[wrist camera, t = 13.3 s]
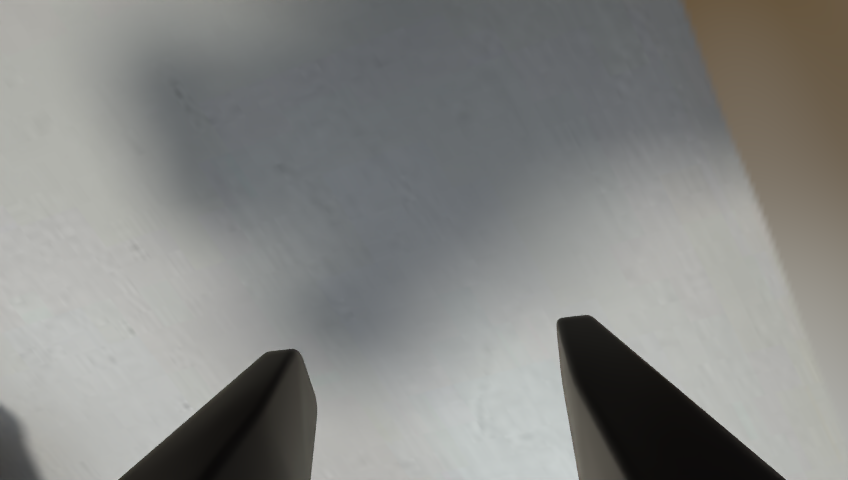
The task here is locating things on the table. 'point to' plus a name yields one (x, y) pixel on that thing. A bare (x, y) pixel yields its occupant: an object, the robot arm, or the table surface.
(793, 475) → the table surface
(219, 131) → the table surface
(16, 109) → the table surface
